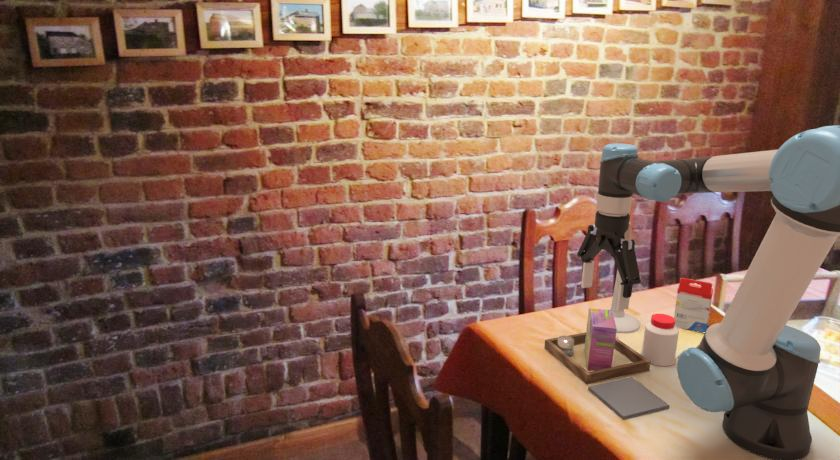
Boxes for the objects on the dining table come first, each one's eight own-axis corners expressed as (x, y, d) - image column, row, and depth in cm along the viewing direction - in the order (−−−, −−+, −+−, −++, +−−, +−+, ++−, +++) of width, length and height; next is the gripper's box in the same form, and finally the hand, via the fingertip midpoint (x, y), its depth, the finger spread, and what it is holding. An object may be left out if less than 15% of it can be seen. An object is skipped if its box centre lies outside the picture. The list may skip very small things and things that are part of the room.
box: (612, 373, 137) (617, 328, 134) (587, 370, 138) (591, 325, 135) (607, 352, 147) (612, 309, 143) (584, 349, 148) (588, 307, 145)
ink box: (707, 327, 161) (715, 278, 156) (705, 334, 157) (713, 283, 152) (675, 319, 165) (682, 271, 161) (672, 326, 161) (679, 277, 157)
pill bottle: (679, 357, 144) (685, 317, 141) (667, 369, 139) (673, 328, 136) (648, 347, 149) (653, 308, 146) (636, 358, 144) (641, 318, 141)
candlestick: (589, 328, 160) (599, 224, 151) (595, 310, 171) (604, 212, 162) (638, 336, 155) (652, 230, 146) (640, 317, 166) (653, 217, 157)
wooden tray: (649, 370, 138) (650, 361, 138) (586, 384, 132) (587, 374, 132) (602, 337, 155) (603, 329, 154) (544, 348, 149) (545, 339, 148)
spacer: (576, 355, 145) (577, 341, 144) (562, 358, 144) (563, 344, 143) (567, 348, 149) (568, 334, 147) (553, 351, 147) (554, 337, 146)
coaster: (669, 408, 123) (669, 405, 123) (623, 419, 120) (623, 416, 119) (631, 379, 134) (631, 376, 134) (588, 389, 130) (588, 386, 130)
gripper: (665, 225, 122) (653, 316, 128) (593, 198, 144) (585, 277, 150) (636, 228, 119) (625, 321, 125) (567, 200, 141) (560, 280, 148)
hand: (603, 297), depth 138 cm, fingers open, 13 cm apart
